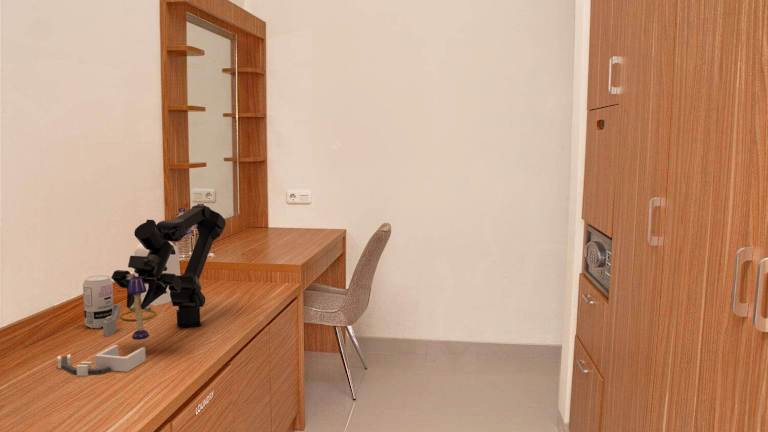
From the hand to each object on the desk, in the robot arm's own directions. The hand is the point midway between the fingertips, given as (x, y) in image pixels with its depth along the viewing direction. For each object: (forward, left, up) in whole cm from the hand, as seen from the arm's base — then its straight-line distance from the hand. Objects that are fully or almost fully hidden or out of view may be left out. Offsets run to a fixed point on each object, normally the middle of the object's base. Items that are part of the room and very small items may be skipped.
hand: (134, 308), depth 161 cm
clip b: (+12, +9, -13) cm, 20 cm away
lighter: (+7, -22, -13) cm, 27 cm away
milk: (-7, -56, -13) cm, 58 cm away
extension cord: (-1, -40, -14) cm, 42 cm away
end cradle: (+4, +6, -13) cm, 15 cm away
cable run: (+12, +4, -13) cm, 18 cm away
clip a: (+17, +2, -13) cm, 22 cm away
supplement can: (+11, -31, -13) cm, 36 cm away
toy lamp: (-1, -1, -9) cm, 9 cm away
